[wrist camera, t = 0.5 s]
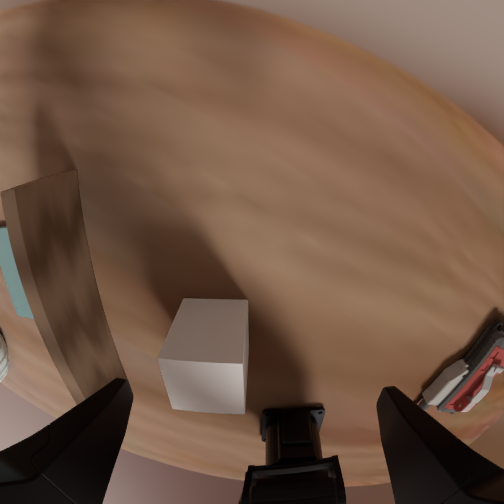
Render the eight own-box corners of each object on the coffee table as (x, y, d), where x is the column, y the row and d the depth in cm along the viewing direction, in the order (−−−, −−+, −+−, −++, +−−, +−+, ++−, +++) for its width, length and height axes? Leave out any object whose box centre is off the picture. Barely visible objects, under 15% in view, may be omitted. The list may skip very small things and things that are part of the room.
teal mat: (85, 323, 24) (82, 327, 23) (20, 312, 24) (17, 315, 23) (58, 221, 20) (54, 224, 19) (-5, 227, 20) (-9, 229, 20)
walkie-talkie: (484, 308, 22) (380, 429, 30) (506, 331, 18) (388, 455, 25) (514, 325, 23) (421, 431, 31) (532, 345, 19) (430, 453, 26)
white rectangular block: (249, 349, 24) (244, 414, 17) (190, 346, 24) (172, 408, 17) (248, 299, 22) (242, 363, 15) (183, 298, 22) (156, 358, 16)
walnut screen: (130, 386, 27) (108, 436, 20) (118, 383, 27) (95, 432, 20) (76, 169, 18) (14, 189, 12) (62, 172, 18) (0, 191, 12)
